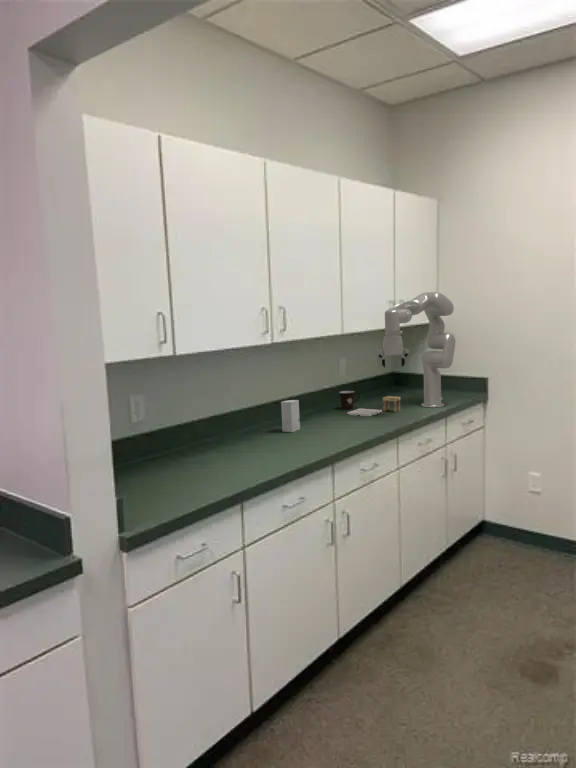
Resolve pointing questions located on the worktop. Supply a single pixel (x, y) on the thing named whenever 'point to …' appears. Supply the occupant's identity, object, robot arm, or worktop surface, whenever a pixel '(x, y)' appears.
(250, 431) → the worktop surface
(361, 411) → the white board
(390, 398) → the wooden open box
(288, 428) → the skincare box
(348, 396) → the coffee mug
